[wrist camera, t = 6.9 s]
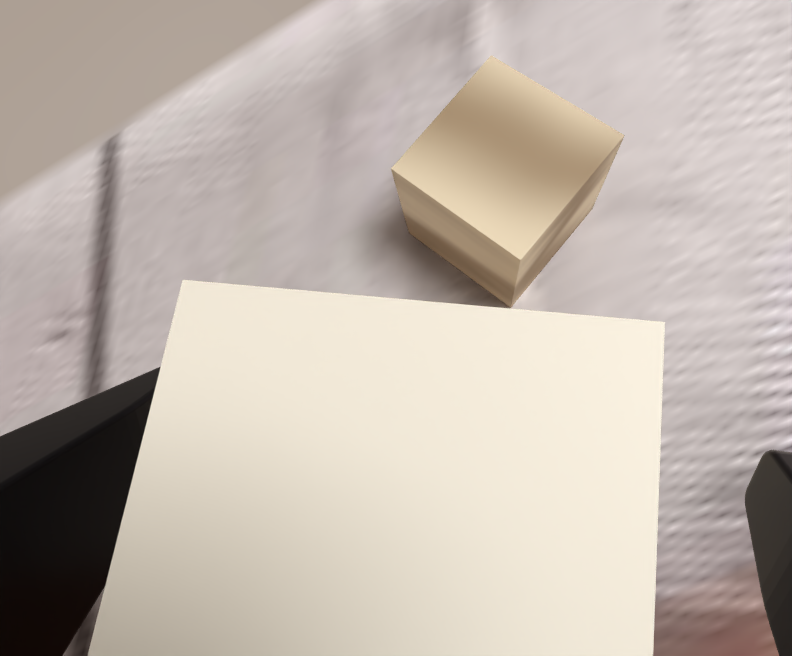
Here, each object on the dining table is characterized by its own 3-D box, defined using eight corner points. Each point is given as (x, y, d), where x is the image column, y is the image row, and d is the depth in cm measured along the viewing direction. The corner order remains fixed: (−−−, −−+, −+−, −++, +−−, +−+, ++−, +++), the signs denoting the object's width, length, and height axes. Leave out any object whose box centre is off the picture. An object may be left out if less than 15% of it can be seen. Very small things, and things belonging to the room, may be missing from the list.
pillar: (538, 610, 15) (640, 991, 4) (373, 577, 16) (50, 800, 5) (551, 438, 16) (664, 321, 5) (397, 418, 17) (183, 279, 6)
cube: (510, 308, 21) (520, 260, 16) (409, 233, 23) (390, 168, 18) (591, 210, 22) (624, 135, 17) (488, 142, 23) (491, 55, 18)
